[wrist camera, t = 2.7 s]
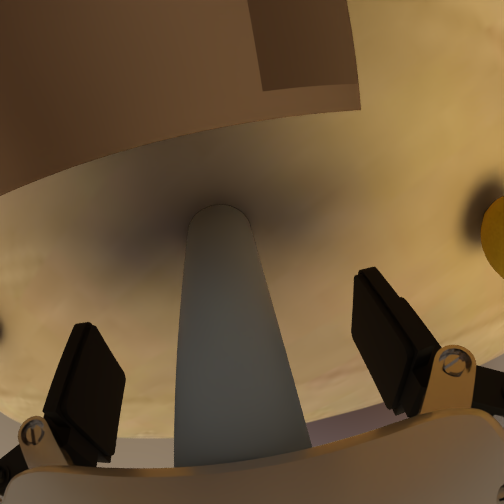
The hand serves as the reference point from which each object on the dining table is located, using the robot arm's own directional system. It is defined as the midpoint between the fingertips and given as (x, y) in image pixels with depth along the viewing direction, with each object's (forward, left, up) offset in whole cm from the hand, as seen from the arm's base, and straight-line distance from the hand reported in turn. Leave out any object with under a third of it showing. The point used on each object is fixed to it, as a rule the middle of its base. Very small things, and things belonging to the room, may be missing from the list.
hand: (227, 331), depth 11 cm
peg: (0, 0, -6) cm, 6 cm away
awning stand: (-15, -7, -6) cm, 18 cm away
